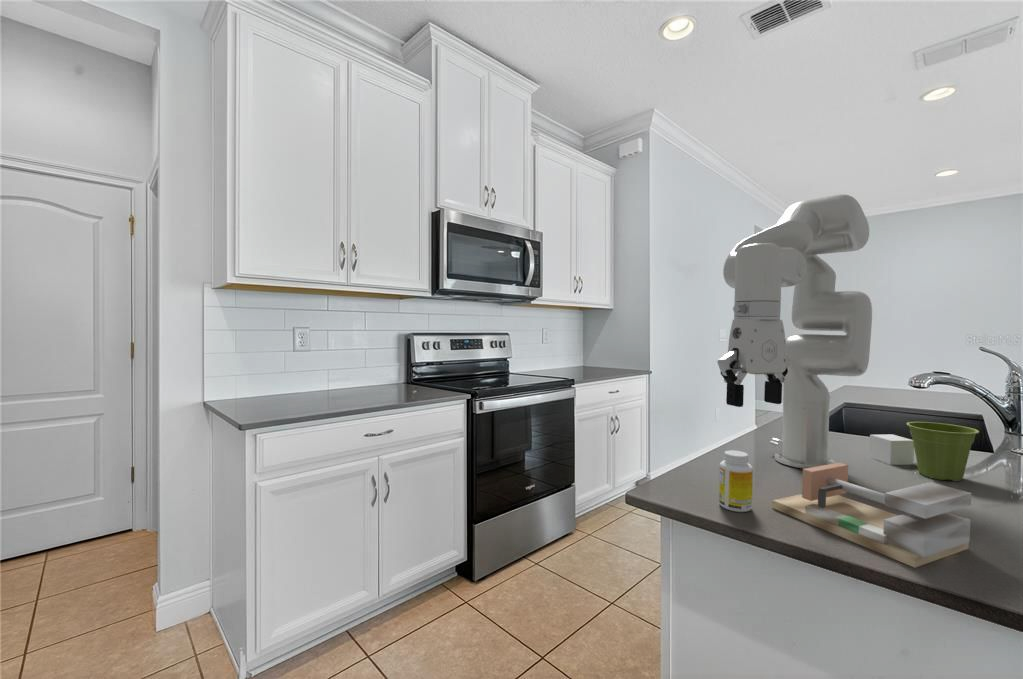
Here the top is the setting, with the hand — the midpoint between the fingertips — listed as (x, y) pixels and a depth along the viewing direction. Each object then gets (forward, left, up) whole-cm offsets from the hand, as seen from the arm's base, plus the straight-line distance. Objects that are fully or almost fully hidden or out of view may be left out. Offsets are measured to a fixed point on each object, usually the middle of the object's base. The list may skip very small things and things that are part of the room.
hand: (754, 404), depth 84 cm
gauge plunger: (+13, +10, -16) cm, 23 cm away
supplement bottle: (-1, -3, -20) cm, 20 cm away
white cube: (-7, +57, -20) cm, 61 cm away
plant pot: (+4, +54, -20) cm, 58 cm away
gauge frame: (+13, +10, -19) cm, 25 cm away
